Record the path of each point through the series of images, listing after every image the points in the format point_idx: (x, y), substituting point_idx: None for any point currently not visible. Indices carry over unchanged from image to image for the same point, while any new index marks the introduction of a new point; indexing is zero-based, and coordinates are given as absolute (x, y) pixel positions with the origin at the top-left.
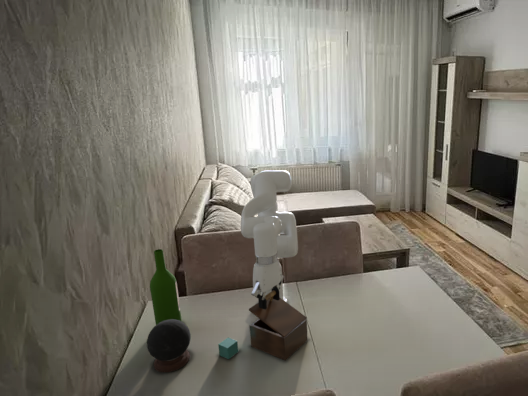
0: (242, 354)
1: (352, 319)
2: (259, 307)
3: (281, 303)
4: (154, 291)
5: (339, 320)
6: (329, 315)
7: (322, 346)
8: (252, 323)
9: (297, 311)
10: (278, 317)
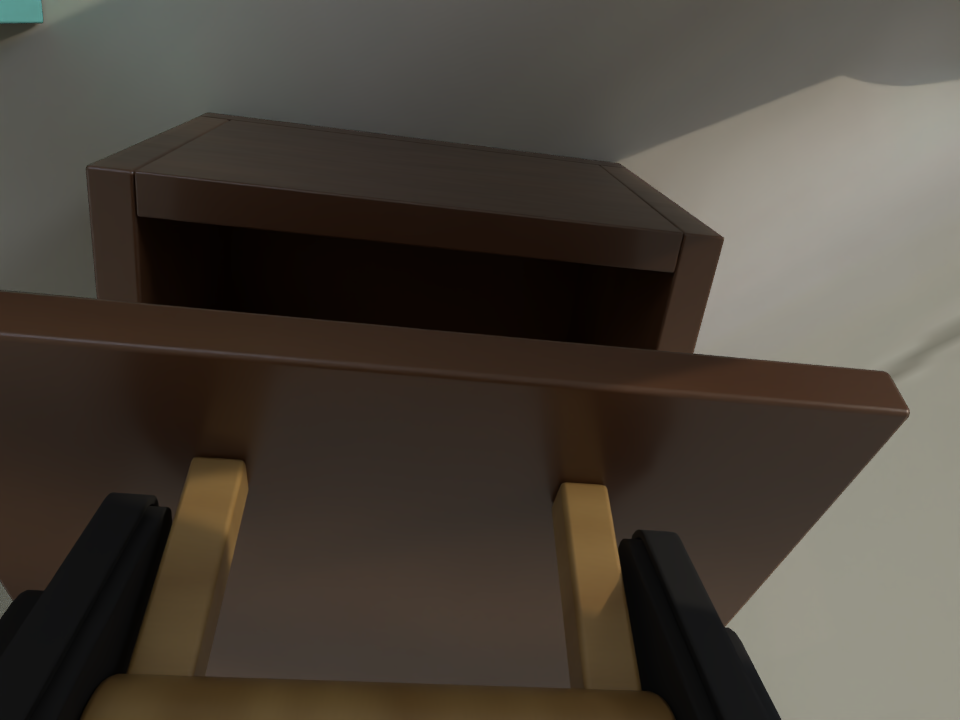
0: (43, 106)
1: (914, 710)
2: (118, 498)
3: None
4: None
5: (885, 641)
6: (954, 544)
7: None
8: (156, 185)
9: None
10: (303, 679)
